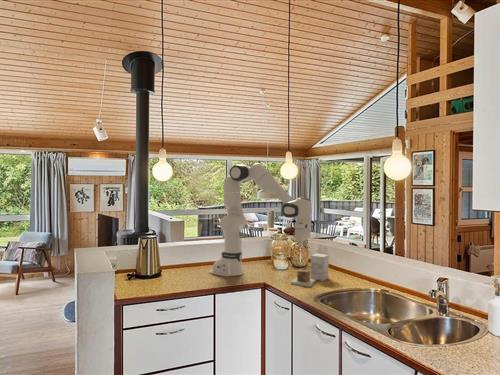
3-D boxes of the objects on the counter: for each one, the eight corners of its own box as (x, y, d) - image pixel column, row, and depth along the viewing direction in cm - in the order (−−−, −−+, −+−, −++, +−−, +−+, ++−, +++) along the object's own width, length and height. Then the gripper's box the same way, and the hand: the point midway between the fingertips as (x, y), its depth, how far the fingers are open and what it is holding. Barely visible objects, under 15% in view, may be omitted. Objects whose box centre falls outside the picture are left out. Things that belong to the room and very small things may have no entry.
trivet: (290, 284, 235) (290, 281, 235) (296, 279, 246) (296, 277, 246) (310, 286, 230) (310, 284, 230) (315, 281, 241) (315, 279, 241)
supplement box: (315, 276, 255) (315, 253, 255) (328, 278, 251) (329, 254, 250) (309, 279, 248) (310, 255, 247) (323, 281, 243) (324, 257, 243)
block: (297, 281, 236) (297, 271, 236) (300, 278, 242) (300, 269, 242) (307, 282, 234) (307, 272, 234) (309, 280, 239) (309, 270, 239)
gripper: (303, 222, 249) (302, 244, 249) (293, 225, 230) (292, 249, 230) (313, 223, 246) (312, 245, 247) (303, 226, 227) (302, 250, 228)
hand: (302, 247), depth 238 cm, fingers open, 8 cm apart
